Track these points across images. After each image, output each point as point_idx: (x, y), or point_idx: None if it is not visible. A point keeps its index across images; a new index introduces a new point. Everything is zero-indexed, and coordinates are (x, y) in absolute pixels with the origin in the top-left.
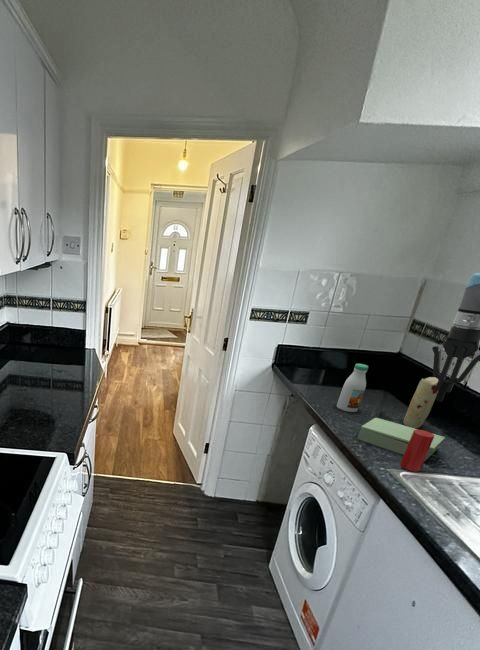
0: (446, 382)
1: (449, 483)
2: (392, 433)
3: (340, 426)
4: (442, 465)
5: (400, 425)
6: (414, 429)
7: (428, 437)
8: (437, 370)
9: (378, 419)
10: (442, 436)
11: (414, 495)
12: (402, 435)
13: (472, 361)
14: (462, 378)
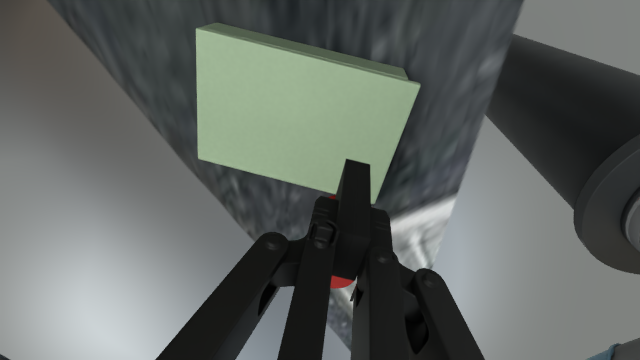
0: (345, 278)
1: (403, 245)
2: (274, 162)
3: (149, 80)
4: (404, 171)
5: (282, 63)
6: (326, 75)
7: (342, 286)
8: (257, 318)
9: (210, 49)
10: (412, 85)
11: (345, 305)
12: (299, 161)
13: None
14: (422, 338)
